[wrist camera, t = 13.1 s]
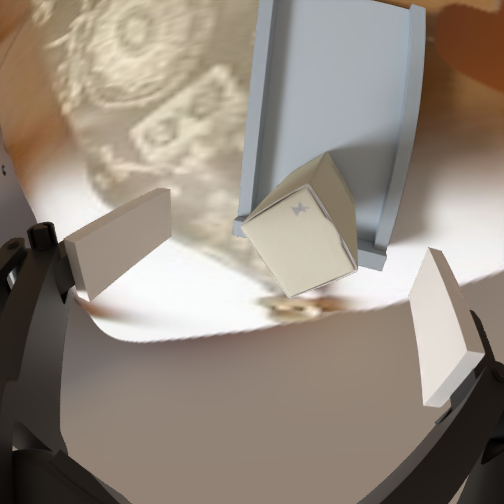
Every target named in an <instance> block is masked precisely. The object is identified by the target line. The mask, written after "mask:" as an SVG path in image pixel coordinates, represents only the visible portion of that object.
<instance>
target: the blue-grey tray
mask: <svg viewBox="0 0 504 504" xmlns="http://www.w3.org/2000/svg"><path fill="white" fill-rule="evenodd" d="M425 32H426V8H423V7H420V6H417V5H414V4H412V5H411V7H410V9H405V8H401V7H398V6H394V5H390V4H385V3H381V2H377V1H372V0H260V2H259V10H258V19H257V27H256V36H255V44H254V53H253V62H252V72H251V81H250V91H249V100H248V110H247V120H246V131H245V141H244V152H243V162H242V174H241V185H240V196H239V208H238V217H237V218H235V219H234V223H233V235H236V236H240V237H244V238H247V237H246V235H245V234H244V232H243V231H242V229H241V224H242V223H243V222H244V220H245V219H246V218H247V217H248V216H249V215H250V214H251V213H252V212H253V211H254V210H255V209H256V207H257V206H258V205H259V204H260V203H261V202H262V201H263V200H264V199H265V198H266V197H267V196H268V195H269V194H270V193H271V192H272V191H273V190H274V189H275V188H276V187H277V186H278V185H279V184H280V183H281V182H282V181H283V179H284V178H286V176H287V175H288V174H290V173H291V172H292V171H294V170H295V169H297V168H299V167H300V166H302V165H303V164H305V163H306V162H308V161H310V160H312V159H313V158H315V157H317V156H319V155H320V154H322V153H324V152H328V153H329V155H330V156H331V158H332V159H333V161H334V162H335V164H336V165H337V167H338V169H339V170H340V172H341V174H342V175H343V177H344V179H345V181H346V182H347V184H348V186H349V188H350V190H351V192H352V194H353V196H354V200H355V213H356V228H357V247H358V266H362V267H366V268H370V269H374V270H378V271H382V269H383V266H384V263H385V261H386V258H387V255H386V250H387V247H388V243H389V240H390V237H391V234H392V230H393V227H394V223H395V220H396V216H397V213H398V209H399V205H400V202H401V198H402V194H403V190H404V186H405V182H406V177H407V173H408V168H409V164H410V159H411V154H412V149H413V144H414V138H415V132H416V126H417V120H418V114H419V106H420V99H421V90H422V81H423V70H424V56H425Z"/></svg>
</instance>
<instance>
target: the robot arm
mask: <svg viewBox="0 0 504 504" xmlns="http://www.w3.org/2000/svg"><path fill="white" fill-rule="evenodd" d="M27 233H28V238H29V242H30V245H31V249H29V248H27V246H26V242H25V240H24V238H12V239H10V240H9V241H8V242H6V243H5V244H4V245H3V246H2V247H1V248H0V504H131V503H130V502H129V501H128V500H127V499H126V498H125V497H124V496H123V495H122V494H120V493H118V492H117V491H116V490H114V489H113V488H111V487H109V486H108V485H107V484H105V483H104V482H102V481H101V480H100V479H98V478H97V477H95V476H94V475H93V474H91V473H90V472H89V471H87V470H86V469H85V468H83V467H82V466H81V465H79V464H78V463H77V462H76V461H74V460H73V459H72V458H70V457H69V456H68V451H67V448H66V444H65V442H64V440H63V437H62V435H61V432H60V389H61V373H62V361H63V351H64V343H65V335H66V328H67V321H68V314H69V309H70V303H71V298H72V293H71V290H70V288H71V287H73V286H74V285H75V286H76V290H77V293H78V296H79V297H81V298H83V299H85V300H87V301H89V302H91V301H92V300H93V299H94V298H95V297H96V296H98V295H99V294H100V293H101V292H102V291H103V290H105V289H106V288H107V287H108V286H109V285H111V284H112V283H113V282H114V281H115V280H117V279H118V278H119V277H120V276H122V275H123V274H124V273H125V272H126V271H128V270H129V269H130V268H131V267H133V266H134V265H135V264H136V263H138V262H139V261H140V260H141V259H143V258H144V257H145V256H146V255H148V254H149V253H150V252H152V251H153V250H154V249H155V248H157V247H158V246H159V245H161V244H162V243H163V242H164V241H166V240H167V239H168V238H170V237H171V236H172V234H171V202H170V189H164V188H157V189H155V190H153V191H151V192H149V193H146V194H144V195H142V196H140V197H138V198H136V199H134V200H132V201H130V202H129V203H127V204H125V205H123V206H121V207H119V208H117V209H115V210H113V211H111V212H109V213H108V214H106V215H104V216H102V217H100V218H98V219H97V220H95V221H93V222H91V223H89V224H88V225H86V226H84V227H82V228H81V229H79V230H77V231H76V232H74V233H72V234H70V235H69V236H67V237H65V238H64V240H63V241H61V242H60V243H58V241H57V237H56V232H55V228H54V224H53V223H51V222H42V223H38V224H36V225H34V226H32V227H30V228H29V229H28V230H27ZM9 274H10V277H11V279H12V282H13V288H12V290H11V289H10V287H9V284H8V281H7V276H8V275H9ZM409 299H410V304H411V309H412V315H413V321H414V326H415V332H416V339H417V345H418V353H419V361H420V370H421V380H422V391H423V405H424V406H434V407H441V406H442V405H443V404H444V403H445V402H446V401H447V400H448V399H449V398H450V399H451V407H450V408H449V409H448V410H447V411H446V412H445V413H444V414H443V415H442V416H441V417H440V418H439V419H438V420H437V421H436V422H435V424H436V425H435V426H434V428H433V429H432V430H431V431H430V432H429V434H428V435H427V436H426V437H425V438H424V440H423V441H422V442H421V443H420V444H419V445H418V446H417V448H416V449H415V450H414V451H413V452H412V453H411V454H410V455H409V456H408V457H407V458H406V459H405V460H404V461H403V462H402V463H401V464H400V465H399V467H397V468H396V469H395V470H394V471H393V472H392V473H391V474H390V475H389V476H388V477H387V478H386V479H385V480H384V481H383V482H382V483H381V484H379V485H378V486H377V487H376V488H375V489H374V490H373V491H371V492H370V493H369V494H368V495H367V496H366V497H364V498H363V499H362V500H361V501H359V502H358V503H357V504H448V503H449V502H450V501H451V499H452V498H453V497H454V495H455V494H456V492H457V491H458V490H459V488H460V487H461V485H462V484H463V482H464V481H465V479H466V478H467V476H468V475H469V477H468V479H467V481H466V484H465V486H464V489H463V491H462V493H461V495H460V498H459V500H458V502H457V504H504V365H503V364H502V363H500V362H497V361H495V358H494V355H493V352H492V349H491V346H490V344H489V341H488V338H486V337H487V336H486V333H485V331H484V328H483V325H482V323H481V321H480V319H479V318H478V316H477V315H476V314H475V312H474V311H472V310H469V308H468V306H467V303H466V301H465V299H464V297H463V294H462V292H461V289H460V287H459V285H458V283H457V281H456V279H455V277H454V274H453V272H452V270H451V268H450V266H449V264H448V262H447V260H446V258H445V256H444V255H443V253H442V251H440V250H436V249H433V248H429V247H428V249H427V252H426V254H425V257H424V260H423V262H422V265H421V267H420V270H419V272H418V275H417V277H416V279H415V282H414V284H413V286H412V289H411V291H410V293H409ZM12 445H13V446H14V447H15V448H17V449H18V450H16V451H12ZM469 473H470V474H469Z"/></svg>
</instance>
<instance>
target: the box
mask: <svg viewBox="0 0 504 504" xmlns="http://www.w3.org/2000/svg"><path fill="white" fill-rule="evenodd" d="M241 229H242V231H243V232H244V234H245V235H246V237H247V239H248V240H249V242H250V243H251V245H252V246H253V248H254V249H255V251H256V252H257V254H258V255H259V257H260V258H261V260H262V261H263V263H264V264H265V265H266V267H267V268H268V270H269V271H270V273H271V274H272V275H273V277H274V278H275V280H276V281H277V283H278V284H279V285H280V287H281V288H282V289H283V291H284V292H285V293H286V295H287V296H288V297H289V298H293V297H295V296H298V295H300V294H303V293H306V292H308V291H311V290H314V289H316V288H319V287H322V286H324V285H327V284H330V283H332V282H334V281H337V280H339V279H341V278H344V277H346V276H348V275H350V274H353V273H355V272H357V270H358V247H357V228H356V213H355V200H354V196H353V194H352V192H351V190H350V188H349V186H348V184H347V182H346V181H345V179H344V177H343V175H342V174H341V172H340V170H339V169H338V167H337V165H336V164H335V162H334V161H333V159H332V158H331V156H330V155H329V153H328V152H324V153H322V154H320V155H319V156H317V157H315V158H313V159H312V160H310V161H308V162H306V163H305V164H303V165H302V166H300V167H299V168H297V169H295V170H294V171H292V172H291V173H290V174H288V175H287V176H286V178H284V179H283V181H282V182H281V183H280V184H279V185H278V186H277V187H276V188H275V189H274V190H273V191H272V192H271V193H270V194H269V195H268V196H267V197H266V198H265V199H264V200H263V201H262V202H261V203H260V204H259V205H258V206H257V207H256V209H255V210H254V211H253V212H252V213H251V214H250V215H249V216H248V217H247V218H246V219H245V220H244V222H243V223H242V224H241Z"/></svg>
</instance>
